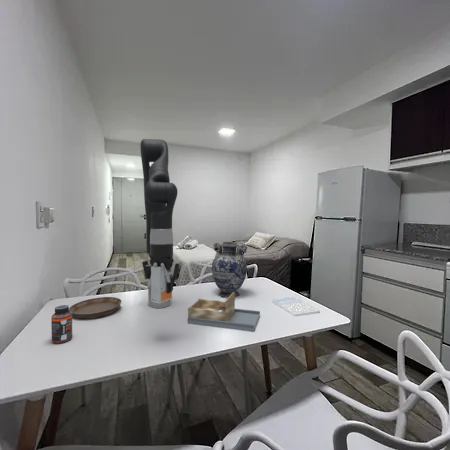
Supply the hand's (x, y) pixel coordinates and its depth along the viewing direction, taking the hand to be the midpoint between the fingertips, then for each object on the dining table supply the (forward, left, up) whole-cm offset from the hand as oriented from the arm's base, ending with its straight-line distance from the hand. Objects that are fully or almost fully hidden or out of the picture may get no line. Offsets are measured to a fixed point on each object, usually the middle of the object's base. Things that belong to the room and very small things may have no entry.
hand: (162, 291), depth 88 cm
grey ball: (+15, +19, -14) cm, 28 cm away
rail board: (+16, +22, -16) cm, 32 cm away
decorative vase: (+9, +55, -16) cm, 58 cm away
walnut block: (+15, +25, -14) cm, 32 cm away
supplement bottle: (-32, -10, -16) cm, 37 cm away
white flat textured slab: (+43, +45, -17) cm, 65 cm away
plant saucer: (-41, +15, -17) cm, 47 cm away
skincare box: (0, 0, -3) cm, 3 cm away
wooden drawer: (+11, +22, -15) cm, 29 cm away
